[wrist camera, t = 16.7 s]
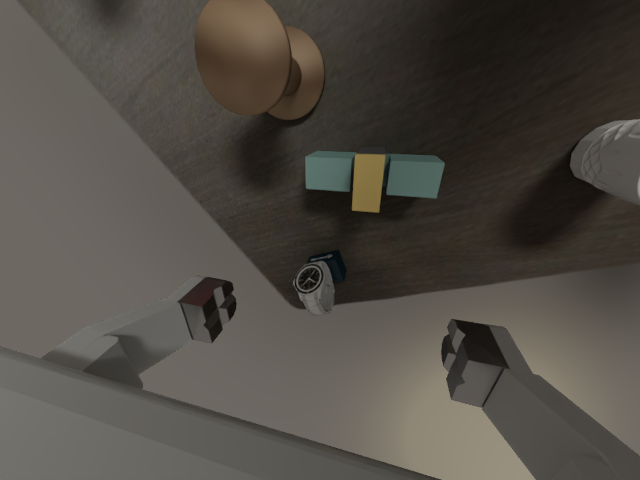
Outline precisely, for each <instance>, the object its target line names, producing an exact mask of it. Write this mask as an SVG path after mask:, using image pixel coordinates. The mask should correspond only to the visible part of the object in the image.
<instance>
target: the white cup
mask: <svg viewBox="0 0 640 480" xmlns="http://www.w3.org/2000/svg"><path fill="white" fill-rule="evenodd" d="M570 168H571V170H572V172H573V174H574V176H575V177H577V178H579V179H581V180H583V181H585V182H587V183H589V184H592V185H593V186H594V187H596V188H598V189H601V190H603V191H605V192H607V193H610V194H612V195H614V196H616V197H618V198H621V199H623V200H626V201H628V202H631V203H633V204H636V205H638V206H640V119H639V120H625V121H613V122H610V123H608V124H605V125H603V126H600V127H597V128H595V129H594V130H593V131H591V132H590V133H589V134H587V135H586V136H585V137H584V138H582V139H581V140H580V141H579V143H578V144H577V146H576V147H575V149H574V150H573V152H572V154H571V160H570Z"/></svg>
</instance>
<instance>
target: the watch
mask: <svg viewBox="0 0 640 480" xmlns="http://www.w3.org/2000/svg"><path fill="white" fill-rule="evenodd" d="M345 275H346V268H345V265H344V263H343V260H342V257H341V255H340V252H339V250H337V251H332V252H328V253H323V254H319V255H314V256H310V258H309V260H308V262H307V263H306V265H304V266H303V267H302V268H301V269H300V270H299V271H298V273H297V274H296V276H295V279H294V281H293V285H294V286H295V289H296V290H297V292H298V294H299V297H300V299H301V301H302V302H303V303H304V305H305V307H306V309H307V310H308V312H309V313H311V314H312V315H323V314H329V313H330V312H331V310H332V307H333V306H334V293H335V290H334V285H333V283H335V282H341V281H344V279H345ZM319 299H320V301H319Z"/></svg>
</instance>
